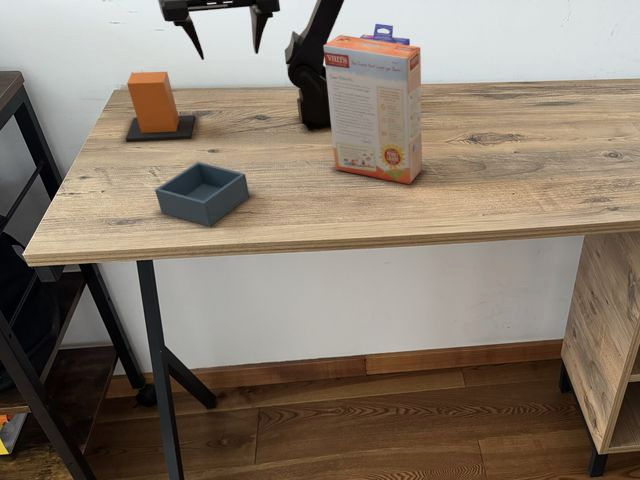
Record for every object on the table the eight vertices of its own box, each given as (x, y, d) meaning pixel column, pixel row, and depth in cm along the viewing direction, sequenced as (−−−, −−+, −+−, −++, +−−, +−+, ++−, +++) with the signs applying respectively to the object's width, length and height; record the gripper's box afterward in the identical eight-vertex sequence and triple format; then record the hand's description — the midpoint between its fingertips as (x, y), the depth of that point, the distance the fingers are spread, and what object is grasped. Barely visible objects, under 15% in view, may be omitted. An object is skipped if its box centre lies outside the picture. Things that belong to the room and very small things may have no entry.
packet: (179, 120, 128) (167, 71, 122) (176, 131, 124) (163, 82, 118) (145, 121, 127) (131, 72, 121) (141, 133, 123) (126, 83, 117)
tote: (203, 184, 112) (198, 161, 109) (249, 196, 110) (245, 173, 107) (161, 212, 105) (154, 189, 102) (209, 226, 103) (204, 203, 100)
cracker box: (423, 170, 118) (422, 45, 104) (409, 186, 114) (407, 58, 100) (349, 155, 121) (340, 32, 107) (334, 170, 117) (321, 43, 103)
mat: (195, 118, 130) (194, 115, 130) (190, 138, 124) (190, 135, 123) (134, 120, 128) (133, 117, 128) (126, 141, 122) (125, 138, 121)
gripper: (258, -59, 117) (272, 36, 128) (143, -53, 111) (167, 46, 122) (273, -44, 110) (287, 56, 121) (151, -36, 104) (176, 68, 114)
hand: (229, 56), depth 119 cm, fingers open, 9 cm apart
